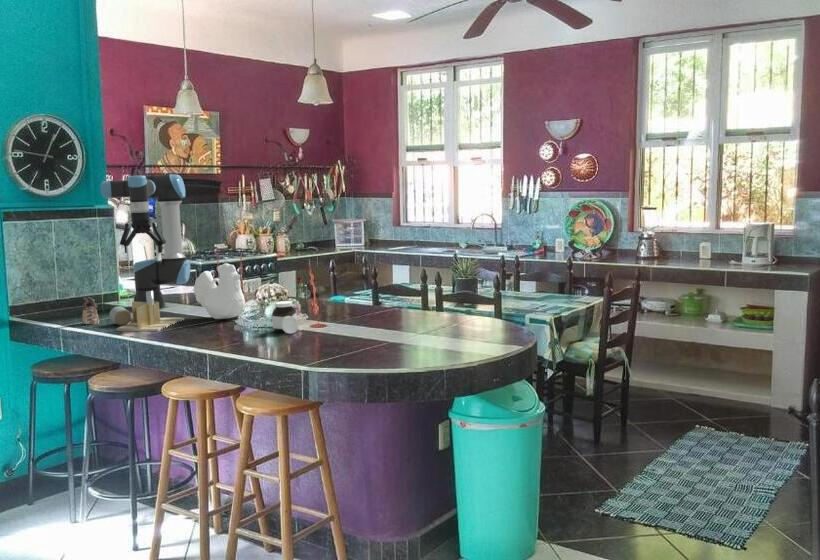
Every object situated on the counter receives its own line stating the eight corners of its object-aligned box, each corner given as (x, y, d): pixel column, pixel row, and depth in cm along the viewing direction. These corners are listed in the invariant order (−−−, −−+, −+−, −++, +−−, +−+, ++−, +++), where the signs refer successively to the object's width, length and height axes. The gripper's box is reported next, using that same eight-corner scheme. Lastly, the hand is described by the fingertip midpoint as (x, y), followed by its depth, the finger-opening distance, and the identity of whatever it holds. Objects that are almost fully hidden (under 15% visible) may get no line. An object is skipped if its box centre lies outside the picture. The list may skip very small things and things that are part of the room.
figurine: (102, 323, 346) (100, 296, 344) (87, 325, 341) (85, 298, 339) (94, 321, 350) (92, 295, 349) (79, 324, 345) (76, 297, 343)
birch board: (144, 319, 350) (144, 317, 349) (184, 319, 346) (184, 317, 346) (116, 330, 326) (116, 328, 326) (158, 330, 323) (158, 328, 323)
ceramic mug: (115, 327, 335) (114, 309, 334) (109, 324, 342) (108, 307, 341) (140, 323, 342) (139, 306, 341) (133, 321, 348) (132, 304, 347)
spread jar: (285, 327, 320) (283, 300, 319) (307, 329, 315) (306, 301, 313) (267, 333, 310) (265, 305, 308) (290, 335, 305) (288, 306, 303)
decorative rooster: (254, 316, 348) (250, 261, 344) (227, 323, 335) (223, 266, 332) (216, 312, 362) (212, 259, 359) (189, 318, 349) (185, 263, 346)
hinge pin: (150, 322, 337) (147, 290, 335) (157, 322, 336) (154, 290, 334) (147, 324, 334) (144, 292, 332) (153, 324, 333) (151, 291, 331)
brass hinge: (134, 321, 341) (133, 301, 340) (164, 321, 339) (162, 301, 337) (116, 328, 326) (114, 307, 325) (146, 328, 324) (145, 307, 323)
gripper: (108, 213, 332) (113, 262, 335) (163, 211, 328) (167, 261, 331) (117, 211, 339) (122, 259, 343) (171, 210, 335) (175, 258, 339)
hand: (144, 260), depth 337 cm, fingers open, 13 cm apart
